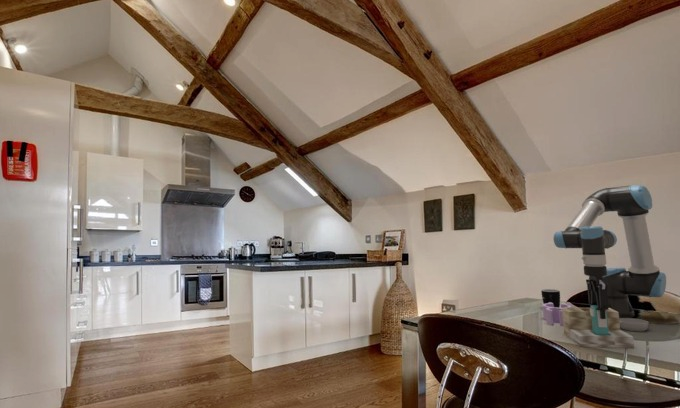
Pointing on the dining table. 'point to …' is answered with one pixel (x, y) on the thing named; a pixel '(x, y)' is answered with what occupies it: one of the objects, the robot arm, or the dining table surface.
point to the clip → (553, 313)
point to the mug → (551, 296)
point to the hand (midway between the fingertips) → (600, 325)
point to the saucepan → (633, 324)
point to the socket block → (582, 332)
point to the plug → (595, 327)
